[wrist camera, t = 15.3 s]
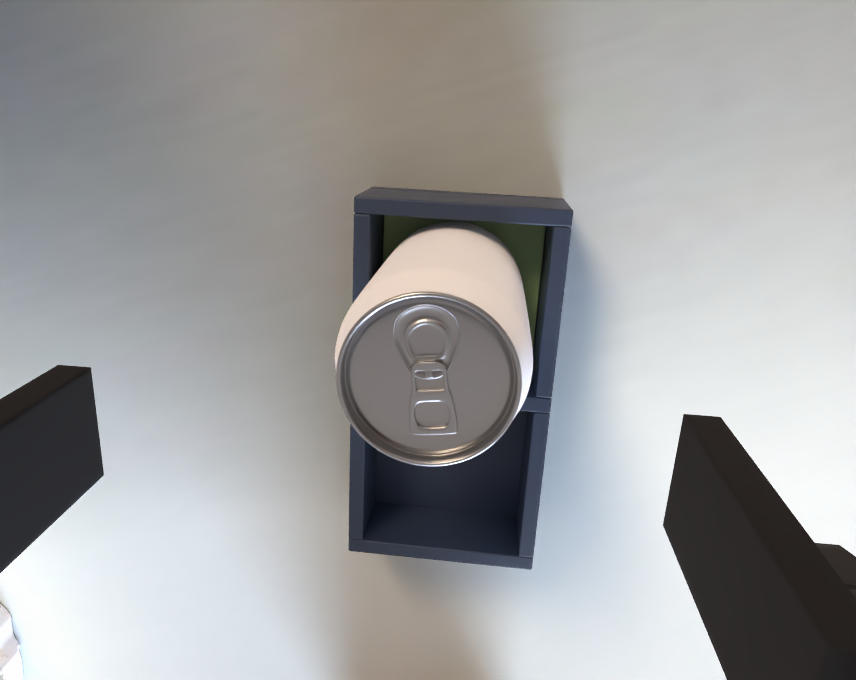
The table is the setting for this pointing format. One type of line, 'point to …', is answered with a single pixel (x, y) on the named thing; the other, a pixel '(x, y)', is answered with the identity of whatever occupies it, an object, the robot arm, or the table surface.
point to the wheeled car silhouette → (9, 649)
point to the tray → (527, 434)
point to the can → (437, 347)
